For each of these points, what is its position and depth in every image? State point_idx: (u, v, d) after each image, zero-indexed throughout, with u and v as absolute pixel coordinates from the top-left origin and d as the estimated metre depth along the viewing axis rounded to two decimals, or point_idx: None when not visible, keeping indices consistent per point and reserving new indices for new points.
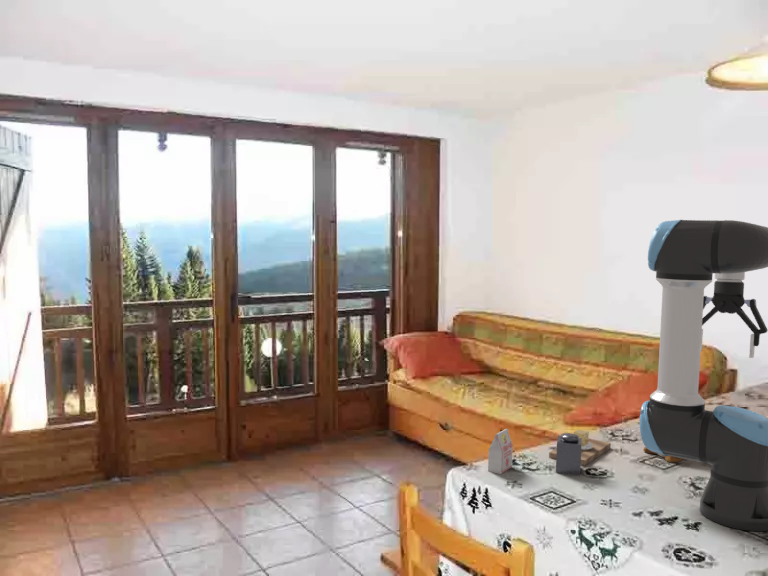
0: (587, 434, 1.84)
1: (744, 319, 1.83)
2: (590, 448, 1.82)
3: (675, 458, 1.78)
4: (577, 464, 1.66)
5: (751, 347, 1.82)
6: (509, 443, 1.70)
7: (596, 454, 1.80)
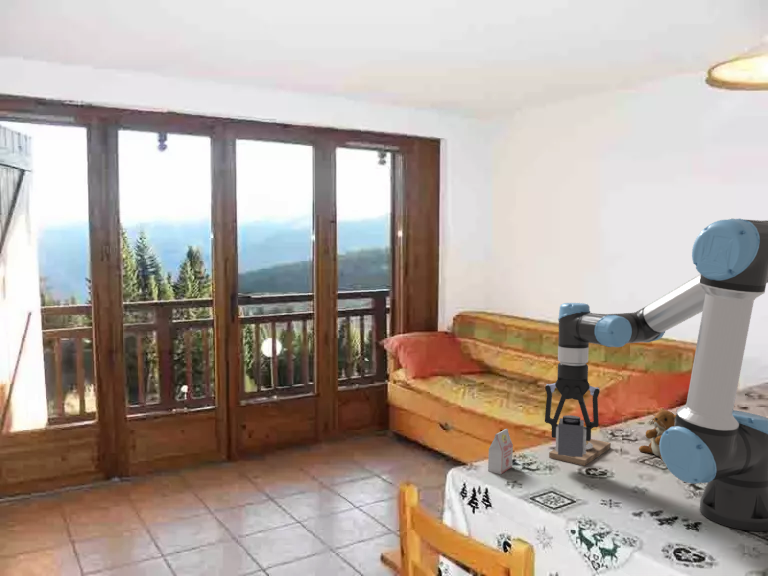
0: None
1: (582, 409, 1.67)
2: (590, 448, 1.82)
3: None
4: (579, 445, 1.65)
5: (584, 443, 1.67)
6: (509, 443, 1.70)
7: (596, 454, 1.80)
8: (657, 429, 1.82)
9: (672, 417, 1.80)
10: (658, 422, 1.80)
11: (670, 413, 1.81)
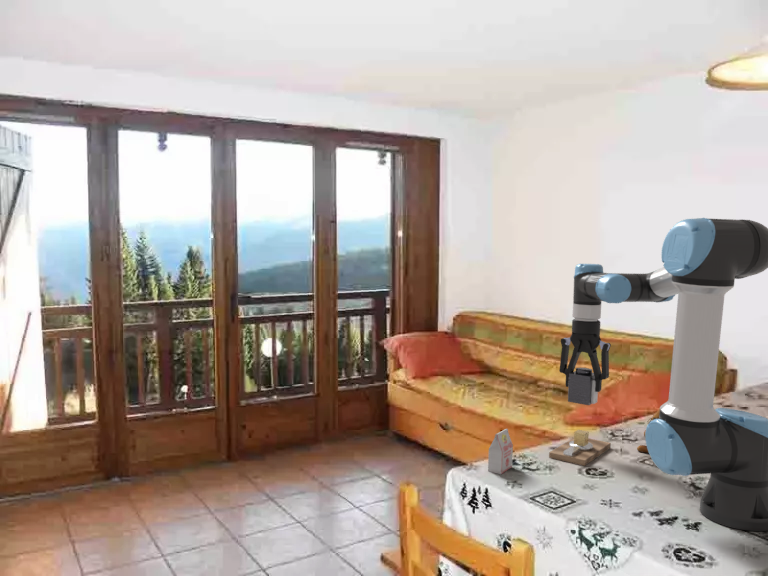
0: (587, 434, 1.84)
1: (592, 362, 1.80)
2: (590, 448, 1.82)
3: None
4: (586, 394, 1.80)
5: (592, 393, 1.80)
6: (509, 443, 1.70)
7: (596, 454, 1.80)
8: None
9: None
10: None
11: None
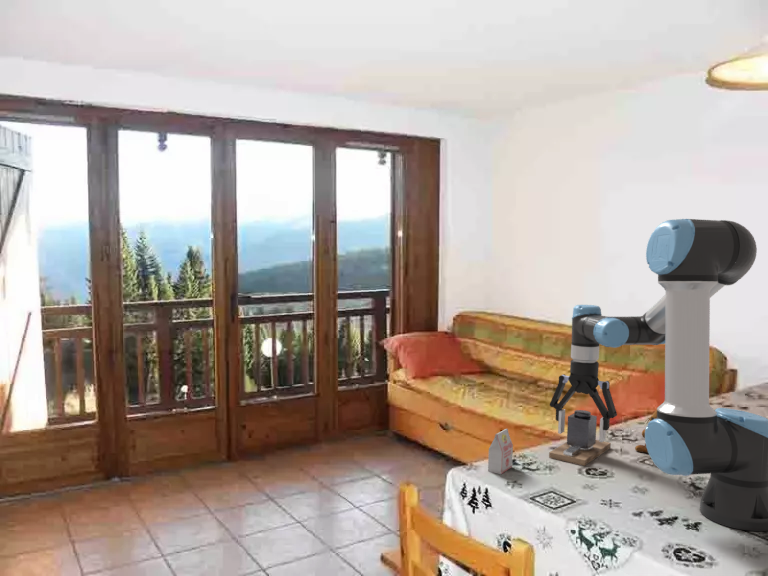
0: None
1: (596, 401, 1.80)
2: (590, 448, 1.82)
3: None
4: (585, 438, 1.80)
5: (600, 431, 1.79)
6: (509, 443, 1.70)
7: (596, 454, 1.80)
8: None
9: None
10: None
11: None
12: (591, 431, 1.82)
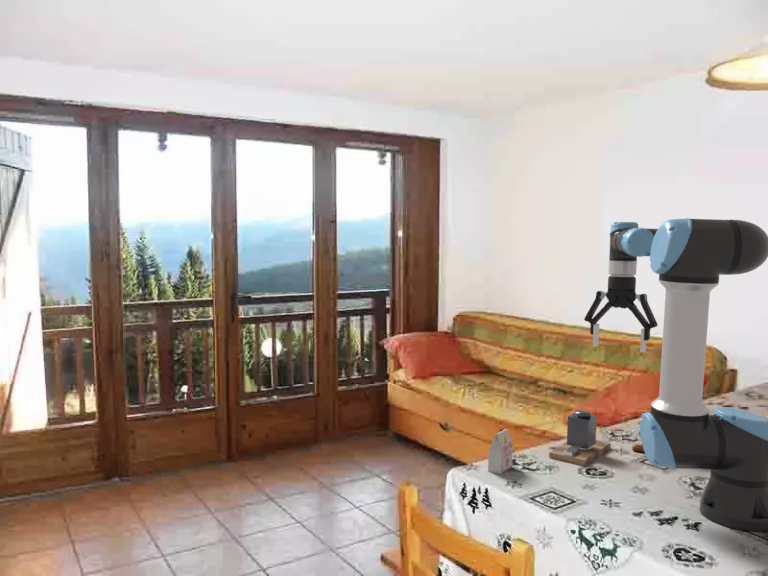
0: None
1: (635, 314, 1.85)
2: (590, 448, 1.82)
3: None
4: (585, 438, 1.80)
5: (641, 341, 1.84)
6: (509, 443, 1.70)
7: (596, 454, 1.80)
8: None
9: None
10: None
11: None
12: (591, 431, 1.82)
